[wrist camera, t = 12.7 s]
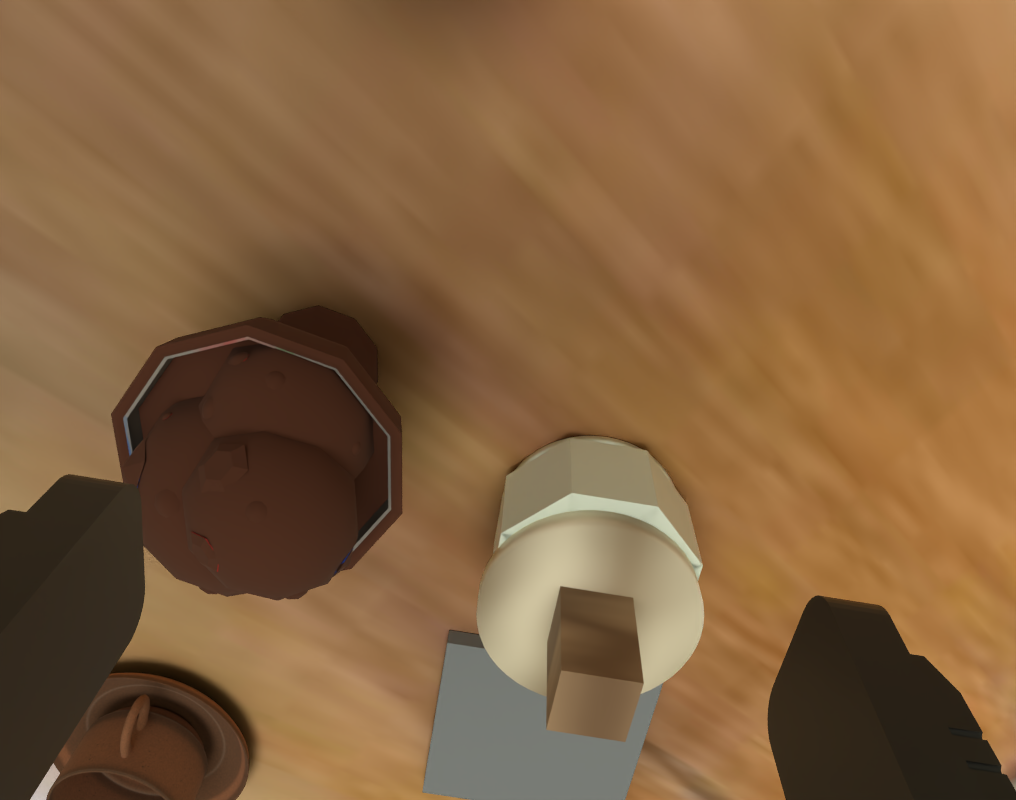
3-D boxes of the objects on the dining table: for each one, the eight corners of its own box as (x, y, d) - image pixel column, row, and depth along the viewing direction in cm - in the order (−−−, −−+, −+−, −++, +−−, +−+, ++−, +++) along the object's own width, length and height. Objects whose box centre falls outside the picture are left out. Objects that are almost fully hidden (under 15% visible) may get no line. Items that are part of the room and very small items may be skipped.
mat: (424, 778, 52) (422, 792, 52) (449, 630, 47) (447, 642, 46) (616, 807, 53) (617, 821, 52) (663, 663, 47) (665, 676, 46)
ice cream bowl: (336, 201, 37) (211, 332, 23) (481, 398, 41) (445, 608, 27) (157, 323, 40) (-45, 502, 26) (308, 496, 44) (199, 729, 30)
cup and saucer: (32, 658, 50) (-33, 743, 44) (230, 648, 49) (188, 734, 43) (98, 799, 55) (47, 891, 50) (278, 793, 54) (246, 886, 48)
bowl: (488, 569, 45) (480, 642, 40) (515, 421, 41) (510, 482, 36) (655, 596, 45) (667, 672, 40) (699, 451, 41) (719, 516, 36)
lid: (464, 666, 41) (450, 775, 35) (496, 493, 36) (486, 586, 31) (669, 698, 41) (687, 811, 36) (726, 530, 37) (757, 629, 31)
